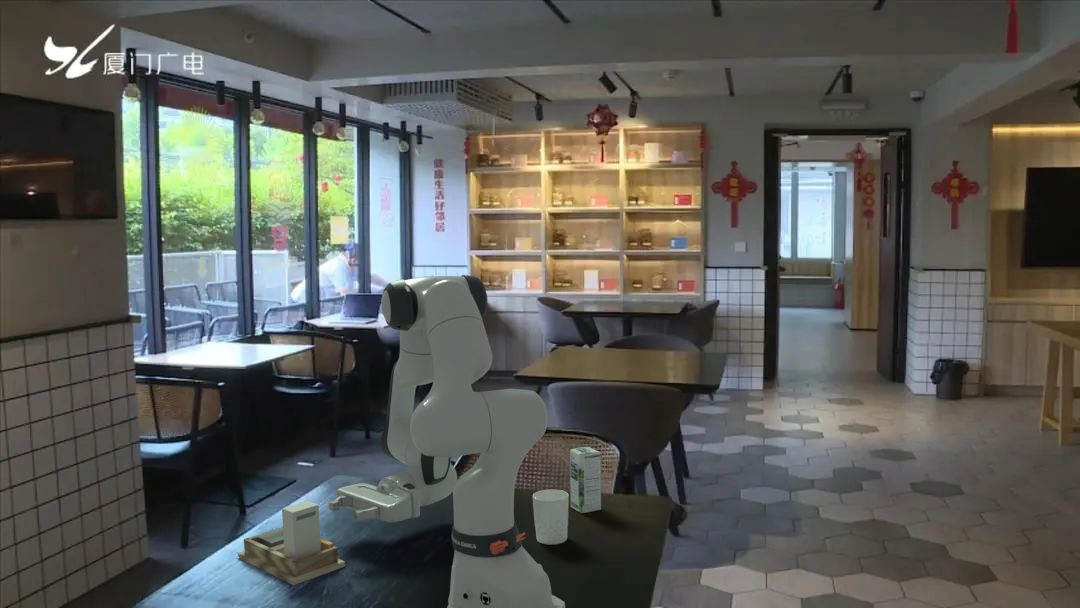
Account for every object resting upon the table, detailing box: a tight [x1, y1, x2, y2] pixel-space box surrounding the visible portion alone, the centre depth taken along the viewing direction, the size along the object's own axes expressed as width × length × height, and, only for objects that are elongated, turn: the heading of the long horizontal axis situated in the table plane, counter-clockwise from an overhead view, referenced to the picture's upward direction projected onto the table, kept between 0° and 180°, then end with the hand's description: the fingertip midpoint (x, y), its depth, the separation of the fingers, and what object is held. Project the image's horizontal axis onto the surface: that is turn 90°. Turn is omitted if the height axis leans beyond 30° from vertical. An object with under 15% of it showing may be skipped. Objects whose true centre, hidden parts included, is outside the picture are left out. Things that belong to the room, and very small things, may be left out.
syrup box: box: [569, 446, 602, 514], centre depth 208 cm, size 6×6×14 cm
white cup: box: [532, 489, 570, 546], centre depth 189 cm, size 8×8×10 cm
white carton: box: [281, 500, 321, 560], centre depth 177 cm, size 4×6×12 cm
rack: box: [237, 526, 346, 586], centre depth 181 cm, size 22×12×5 cm, turn 47°
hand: (343, 511), depth 184 cm, fingers open, 8 cm apart
